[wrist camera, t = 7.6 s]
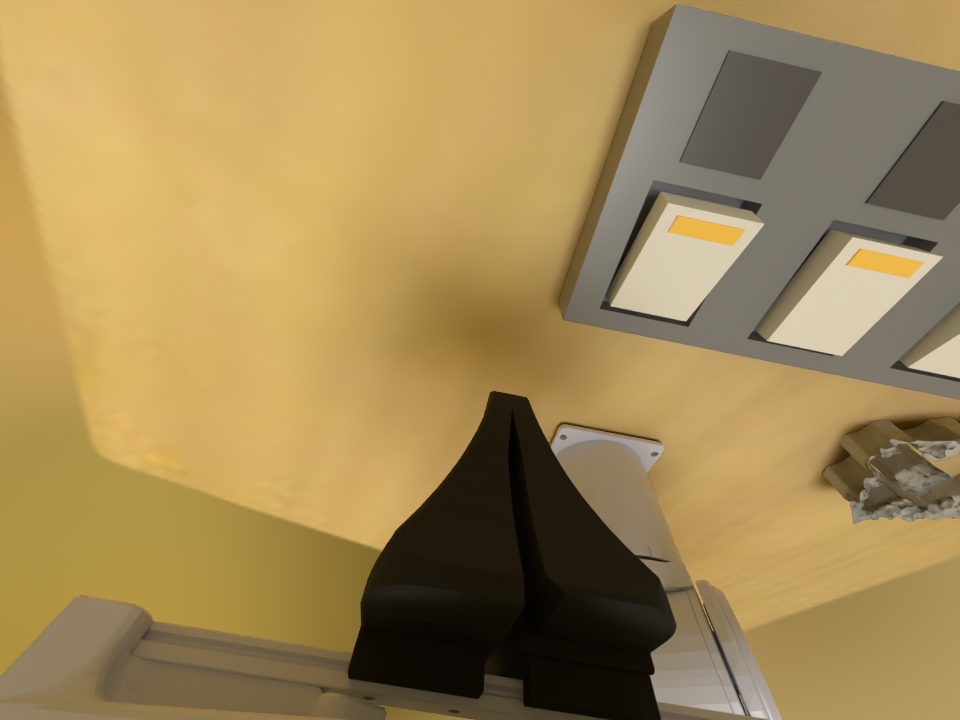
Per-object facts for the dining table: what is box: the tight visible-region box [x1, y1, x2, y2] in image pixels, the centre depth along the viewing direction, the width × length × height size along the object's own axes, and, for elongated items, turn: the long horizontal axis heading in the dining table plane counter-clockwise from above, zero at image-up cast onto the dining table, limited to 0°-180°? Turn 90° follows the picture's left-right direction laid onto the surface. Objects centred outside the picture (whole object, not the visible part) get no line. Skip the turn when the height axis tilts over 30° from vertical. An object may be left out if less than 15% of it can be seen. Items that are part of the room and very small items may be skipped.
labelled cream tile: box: [607, 192, 764, 321], centre depth 16 cm, size 5×4×1 cm
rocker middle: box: [754, 229, 943, 356], centre depth 16 cm, size 5×4×1 cm
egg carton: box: [823, 416, 960, 524], centre depth 23 cm, size 11×8×4 cm
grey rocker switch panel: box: [558, 4, 960, 400], centre depth 16 cm, size 12×24×2 cm, turn 80°
